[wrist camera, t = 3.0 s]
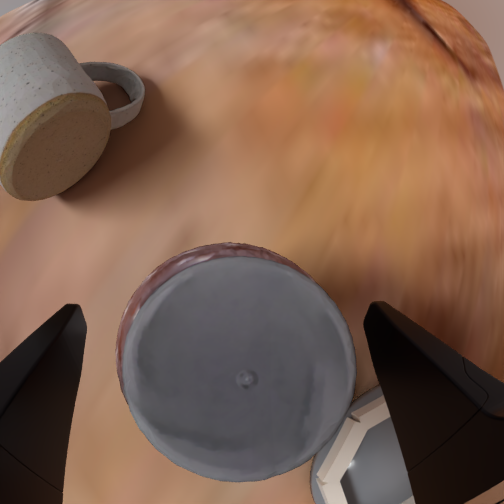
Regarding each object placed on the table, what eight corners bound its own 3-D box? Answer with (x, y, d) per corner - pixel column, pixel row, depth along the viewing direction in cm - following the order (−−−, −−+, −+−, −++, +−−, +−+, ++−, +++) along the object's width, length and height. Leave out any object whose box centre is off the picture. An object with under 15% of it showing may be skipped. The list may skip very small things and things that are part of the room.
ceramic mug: (40, 228, 15) (-34, 169, 8) (-1, 150, 16) (-53, 86, 9) (173, 121, 18) (168, 25, 11) (112, 64, 19) (95, -15, 12)
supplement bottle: (266, 276, 17) (373, 183, 6) (286, 385, 15) (420, 467, 5) (152, 293, 16) (53, 223, 5) (173, 405, 14) (122, 537, 3)
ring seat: (406, 526, 14) (417, 535, 12) (277, 513, 13) (283, 527, 12) (471, 398, 17) (486, 400, 15) (361, 354, 16) (375, 355, 15)
